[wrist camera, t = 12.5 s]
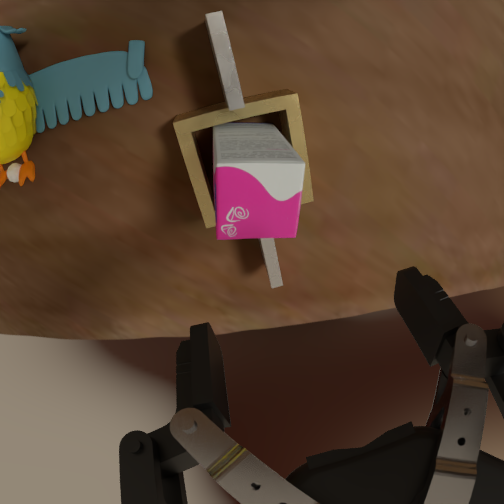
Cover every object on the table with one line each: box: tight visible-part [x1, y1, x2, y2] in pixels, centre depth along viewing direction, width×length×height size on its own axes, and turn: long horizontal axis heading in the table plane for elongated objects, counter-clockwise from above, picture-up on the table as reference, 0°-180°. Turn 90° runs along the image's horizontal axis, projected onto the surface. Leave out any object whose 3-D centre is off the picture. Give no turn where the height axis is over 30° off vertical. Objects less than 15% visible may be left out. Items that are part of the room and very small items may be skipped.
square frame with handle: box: [173, 11, 314, 288], centre depth 28 cm, size 26×10×5 cm, turn 12°
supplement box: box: [213, 122, 305, 240], centre depth 25 cm, size 6×6×12 cm
